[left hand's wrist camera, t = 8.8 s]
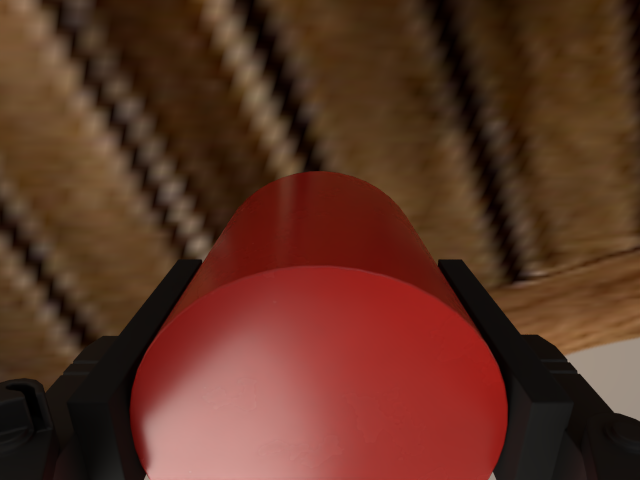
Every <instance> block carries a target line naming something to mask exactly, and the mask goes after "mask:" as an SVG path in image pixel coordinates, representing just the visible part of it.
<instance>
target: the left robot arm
mask: <svg viewBox="0 0 640 480" xmlns="http://www.w3.org/2000/svg"><path fill="white" fill-rule="evenodd" d="M201 265H202V260H178V261H177V262H176V264H175V265H174V266H173V267H172V269H171V270H170V271H169V272H168V274H167V275H166V276H165V278H164V279H163V280H162V281H161V283H160V284H159V285H158V286H157V288H156V289H155V290H154V292H153V293H152V294H151V295H150V297H149V298H148V299H147V300H146V302H145V303H144V304H143V306H142V307H141V308H140V309H139V311H138V312H137V313H136V314H135V316H134V317H133V318H132V319H131V321H130V322H129V323H128V325H127V326H126V327H125V328H124V330H123V331H122V332H121V333H120V335H119V336H102V337H101V338H99V339H98V340H96V341H95V342H93V343H92V344H90V345H88V346H87V347H85V348H84V350H83V351H82V352H81V353H80V354H79V355H78V356H77V358H76V359H75V360H74V361H73V364H70V365H69V367H68V368H67V369H66V370H65V371H64V372H63V375H61V376H60V377H59V378H58V379H57V380H56V381H55V383H54V384H53V385H52V386H51V387H50V388H49V389H48V391H47V392H46V393H45V391H44V388H43V385H42V384H41V383H39V382H38V381H37V380H33V379H26V378H22V379H14V380H8V381H5V382H1V383H0V480H144V478H145V476H146V472H145V470H144V469H143V467H142V465H141V463H140V460H139V458H138V455H137V453H136V450H135V446H134V441H133V436H132V431H131V426H130V411H129V408H130V399H131V391H132V386H133V383H134V379H135V376H136V372H137V369H138V367H139V365H140V363H141V361H142V359H143V357H144V355H145V353H146V351H147V349H148V347H149V346H150V344H151V343H152V341H153V340H154V338H155V336H156V335H157V333H158V332H159V330H160V329H161V327H162V326H163V324H164V322H165V321H166V319H167V318H168V316H169V315H170V313H171V312H172V310H173V308H174V307H175V305H176V304H177V302H178V301H179V299H180V297H181V296H182V294H183V293H184V291H185V290H186V288H187V287H188V285H189V283H190V282H191V280H192V279H193V277H194V276H195V274H196V273H197V271H198V269H199V268H200V266H201ZM438 267H439V269H440V271H441V272H442V274H443V275H444V277H445V279H446V280H447V282H448V283H449V285H450V286H451V288H452V290H453V291H454V293H455V294H456V296H457V297H458V299H459V301H460V302H461V304H462V305H463V307H464V309H465V310H466V312H467V313H468V315H469V316H470V318H471V320H472V321H473V323H474V324H475V326H476V328H477V329H478V331H479V332H480V334H481V335H482V337H483V339H484V340H485V342H486V343H487V345H488V347H489V349H490V350H491V352H492V354H493V356H494V358H495V360H496V362H497V363H498V366H499V369H500V372H501V375H502V377H503V380H504V383H505V389H506V395H507V401H508V426H507V431H506V437H505V442H504V446H503V449H502V451H501V454H500V457H499V460H498V462H497V464H496V466H495V468H494V470H493V473H494V475H495V477H496V480H640V421H638V420H636V419H634V418H631V417H628V416H625V415H622V414H618V413H614V412H613V411H612V410H611V409H610V407H609V406H608V405H607V404H606V403H605V402H604V401H603V400H602V398H601V397H600V396H599V395H598V394H597V393H596V392H595V390H594V389H593V388H592V387H591V386H590V385H589V384H588V383H587V381H586V380H585V379H584V378H583V377H582V376H581V375H580V374H578V373H577V370H576V369H575V368H574V367H573V366H572V364H571V363H570V362H567V359H566V358H565V356H564V355H563V354H562V353H561V352H560V351H559V350H558V349H557V347H556V346H554V345H553V344H551V343H550V342H548V341H546V340H545V339H543V338H542V337H540V336H539V335H521V334H520V333H519V332H518V331H517V329H516V328H515V327H514V325H513V324H512V323H511V322H510V320H509V319H508V318H507V317H506V315H505V314H504V313H503V311H502V310H501V309H500V308H499V306H498V305H497V304H496V303H495V301H494V300H493V299H492V298H491V296H490V295H489V294H488V292H487V291H486V290H485V289H484V287H483V286H482V285H481V284H480V282H479V281H478V280H477V278H476V277H475V276H474V275H473V273H472V272H471V271H470V270H469V268H468V267H467V266H466V264H465V263H464V262H463V261H462V260H438Z"/></svg>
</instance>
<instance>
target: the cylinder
mask: <svg viewBox="0 0 640 480" xmlns="http://www.w3.org/2000/svg"><path fill="white" fill-rule="evenodd" d="M129 411H130V426H131V431H132V436H133V441H134V446H135V450H136V453H137V455H138V458H139V460H140V463H141V465H142V467H143V469H144V470H145V472H146V474H147V476H148V477H149V479H150V480H488V479H489V477H490V475H491V474H492V472H493V470H494V468H495V466H496V464H497V462H498V460H499V457H500V454H501V451H502V449H503V446H504V442H505V437H506V431H507V426H508V401H507V395H506V389H505V383H504V380H503V377H502V375H501V372H500V369H499V366H498V363H497V362H496V360H495V358H494V356H493V354H492V352H491V350H490V349H489V347H488V345H487V343H486V342H485V340H484V339H483V337H482V335H481V334H480V332H479V331H478V329H477V328H476V326H475V324H474V323H473V321H472V320H471V318H470V316H469V315H468V313H467V312H466V310H465V309H464V307H463V305H462V304H461V302H460V301H459V299H458V297H457V296H456V294H455V293H454V291H453V290H452V288H451V286H450V285H449V283H448V282H447V280H446V279H445V277H444V275H443V274H442V272H441V271H440V269H439V267H438V266H437V264H436V263H435V261H434V260H433V258H432V256H431V255H430V253H429V252H428V250H427V248H426V247H425V245H424V244H423V242H422V241H421V239H420V237H419V236H418V234H417V233H416V231H415V229H414V228H413V226H412V225H411V223H410V222H409V220H408V218H407V217H406V215H405V214H404V213H403V211H402V210H401V209H400V207H399V206H398V205H397V204H396V203H395V202H394V201H393V200H392V199H391V198H390V197H389V196H388V195H386V194H385V193H384V192H382V191H381V190H380V189H378V188H376V187H375V186H373V185H371V184H369V183H368V182H366V181H363V180H361V179H358V178H356V177H353V176H349V175H345V174H341V173H335V172H326V171H314V172H304V173H297V174H293V175H290V176H286V177H283V178H280V179H278V180H276V181H273V182H271V183H269V184H267V185H266V186H264V187H262V188H261V189H259V190H258V191H256V192H255V193H254V194H253V195H251V196H250V197H249V198H248V199H247V200H246V201H245V202H244V203H243V204H242V205H241V206H240V207H239V208H238V210H237V211H236V212H235V214H234V215H233V217H232V218H231V220H230V221H229V223H228V224H227V226H226V227H225V229H224V230H223V232H222V234H221V235H220V237H219V238H218V240H217V241H216V243H215V245H214V246H213V248H212V249H211V251H210V252H209V254H208V255H207V257H206V259H205V260H204V262H203V263H202V265H201V266H200V268H199V269H198V271H197V273H196V274H195V276H194V277H193V279H192V280H191V282H190V283H189V285H188V287H187V288H186V290H185V291H184V293H183V294H182V296H181V297H180V299H179V301H178V302H177V304H176V305H175V307H174V308H173V310H172V312H171V313H170V315H169V316H168V318H167V319H166V321H165V322H164V324H163V326H162V327H161V329H160V330H159V332H158V333H157V335H156V336H155V338H154V340H153V341H152V343H151V344H150V346H149V347H148V349H147V351H146V353H145V355H144V357H143V359H142V361H141V363H140V365H139V367H138V369H137V372H136V376H135V379H134V383H133V386H132V391H131V399H130V408H129Z"/></svg>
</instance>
